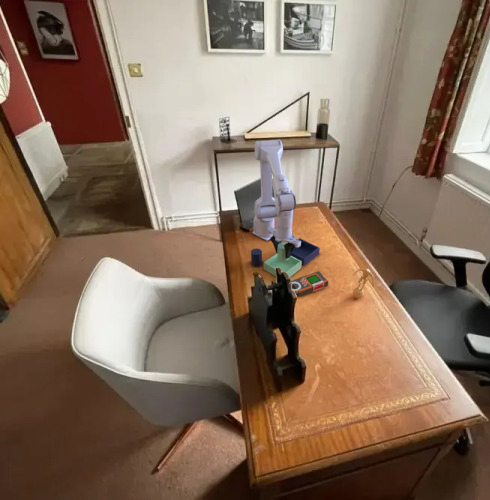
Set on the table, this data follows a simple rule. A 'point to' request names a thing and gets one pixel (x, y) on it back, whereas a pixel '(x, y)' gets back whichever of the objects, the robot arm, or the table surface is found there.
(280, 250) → the mint peg
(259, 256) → the navy peg
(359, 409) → the table surface
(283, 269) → the mint tub
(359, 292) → the figurine
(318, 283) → the electronic device
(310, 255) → the navy tub
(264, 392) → the table surface
